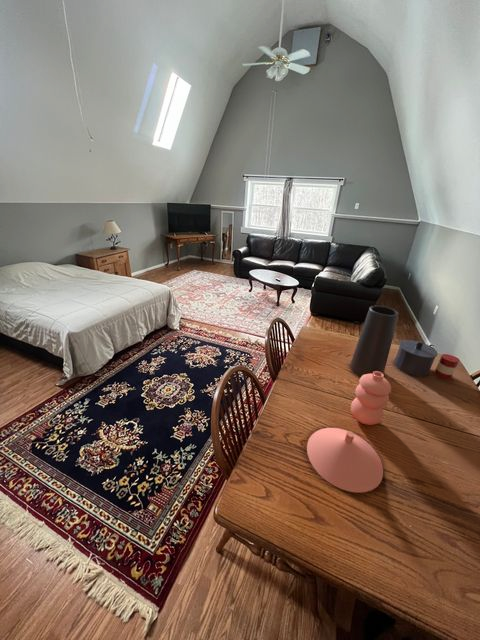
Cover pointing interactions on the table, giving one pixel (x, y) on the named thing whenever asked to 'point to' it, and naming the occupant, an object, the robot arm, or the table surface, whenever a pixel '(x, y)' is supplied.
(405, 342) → the pot lid
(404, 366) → the pot
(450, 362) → the sauce can
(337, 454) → the ceramic vessels
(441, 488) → the table surface
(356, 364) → the vase
